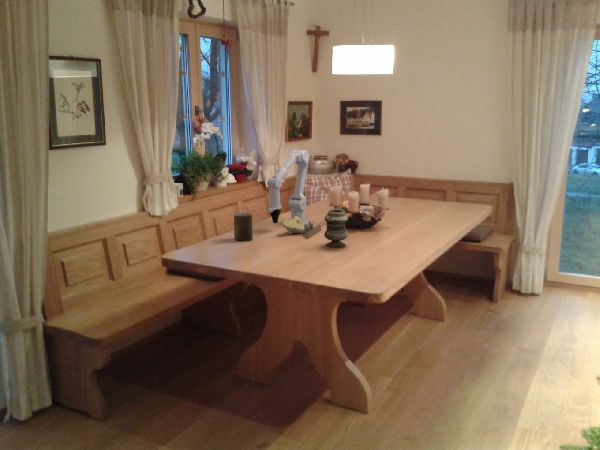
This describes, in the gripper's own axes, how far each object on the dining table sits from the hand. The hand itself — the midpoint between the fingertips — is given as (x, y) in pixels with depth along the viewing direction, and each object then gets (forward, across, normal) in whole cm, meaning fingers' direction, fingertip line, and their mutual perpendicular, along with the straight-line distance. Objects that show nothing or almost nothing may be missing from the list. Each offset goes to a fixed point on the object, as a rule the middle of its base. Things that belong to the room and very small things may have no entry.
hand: (275, 222), depth 322 cm
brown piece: (+5, 0, +21) cm, 22 cm away
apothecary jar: (+5, +19, +42) cm, 47 cm away
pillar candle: (+5, +24, -8) cm, 26 cm away
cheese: (+5, +3, +13) cm, 14 cm away
